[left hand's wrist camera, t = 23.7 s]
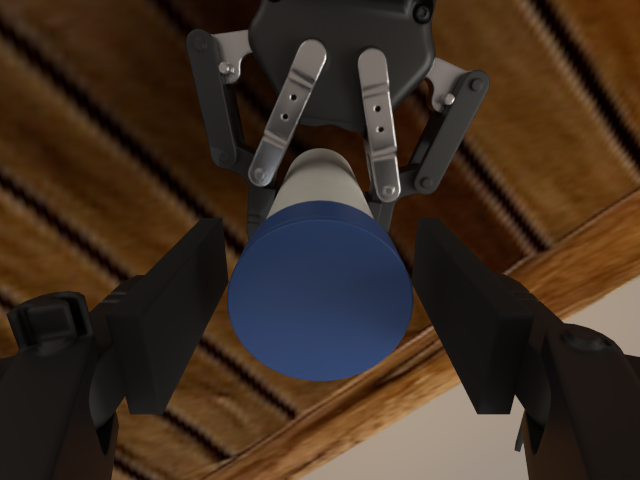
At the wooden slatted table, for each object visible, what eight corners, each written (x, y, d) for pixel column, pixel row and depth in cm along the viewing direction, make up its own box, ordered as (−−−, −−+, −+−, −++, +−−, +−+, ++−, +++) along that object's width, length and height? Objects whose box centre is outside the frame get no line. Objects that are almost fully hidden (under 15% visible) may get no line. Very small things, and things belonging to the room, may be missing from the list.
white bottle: (346, 219, 26) (379, 365, 12) (282, 209, 26) (235, 346, 12) (359, 154, 25) (416, 231, 10) (291, 142, 24) (248, 205, 10)
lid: (321, 365, 13) (321, 408, 11) (209, 277, 12) (188, 309, 10) (431, 275, 12) (451, 306, 10) (318, 164, 11) (318, 177, 9)
